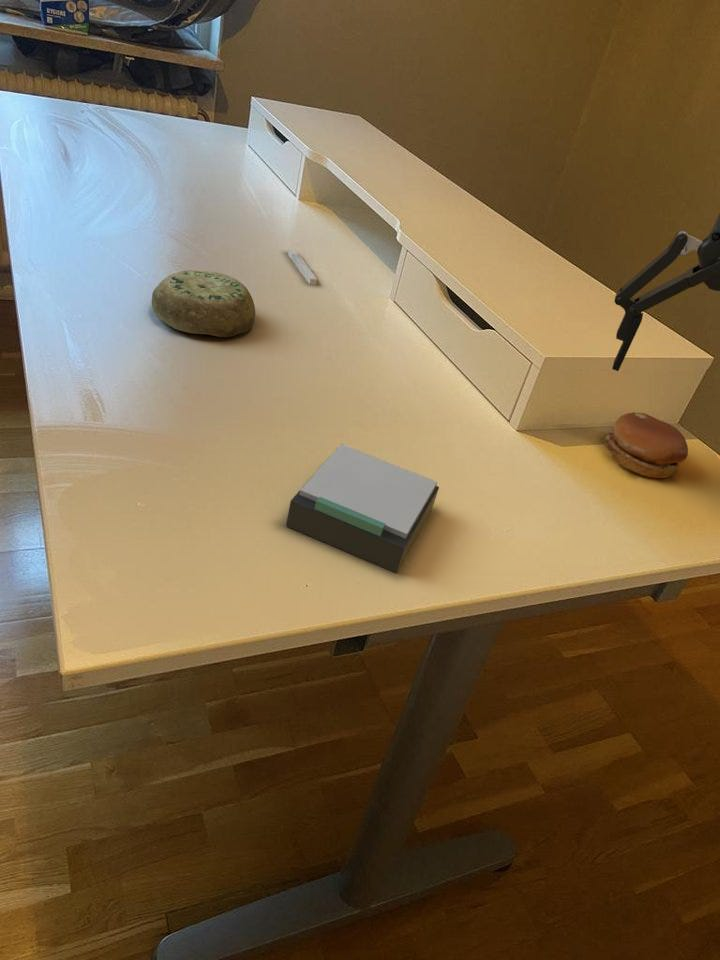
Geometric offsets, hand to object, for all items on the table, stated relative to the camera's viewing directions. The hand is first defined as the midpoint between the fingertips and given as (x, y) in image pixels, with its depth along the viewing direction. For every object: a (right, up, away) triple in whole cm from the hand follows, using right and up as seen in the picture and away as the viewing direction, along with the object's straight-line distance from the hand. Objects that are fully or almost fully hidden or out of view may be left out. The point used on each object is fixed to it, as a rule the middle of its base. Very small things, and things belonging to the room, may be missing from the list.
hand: (672, 386), depth 87 cm
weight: (-58, +10, +12) cm, 60 cm away
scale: (-37, -15, -16) cm, 43 cm away
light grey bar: (-46, +24, +35) cm, 63 cm away
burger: (-2, -8, +6) cm, 10 cm away
